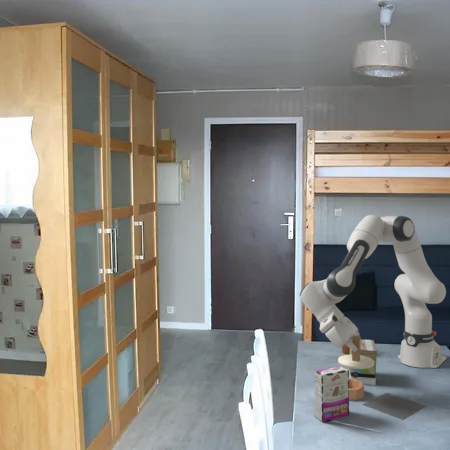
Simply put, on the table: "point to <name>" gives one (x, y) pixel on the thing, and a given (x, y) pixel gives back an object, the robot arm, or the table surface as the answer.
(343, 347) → the coffee cup
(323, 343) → the table surface
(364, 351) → the tea box
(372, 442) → the table surface
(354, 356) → the lid
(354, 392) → the bowl
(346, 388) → the candy bar box
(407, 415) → the mat
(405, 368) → the table surface
